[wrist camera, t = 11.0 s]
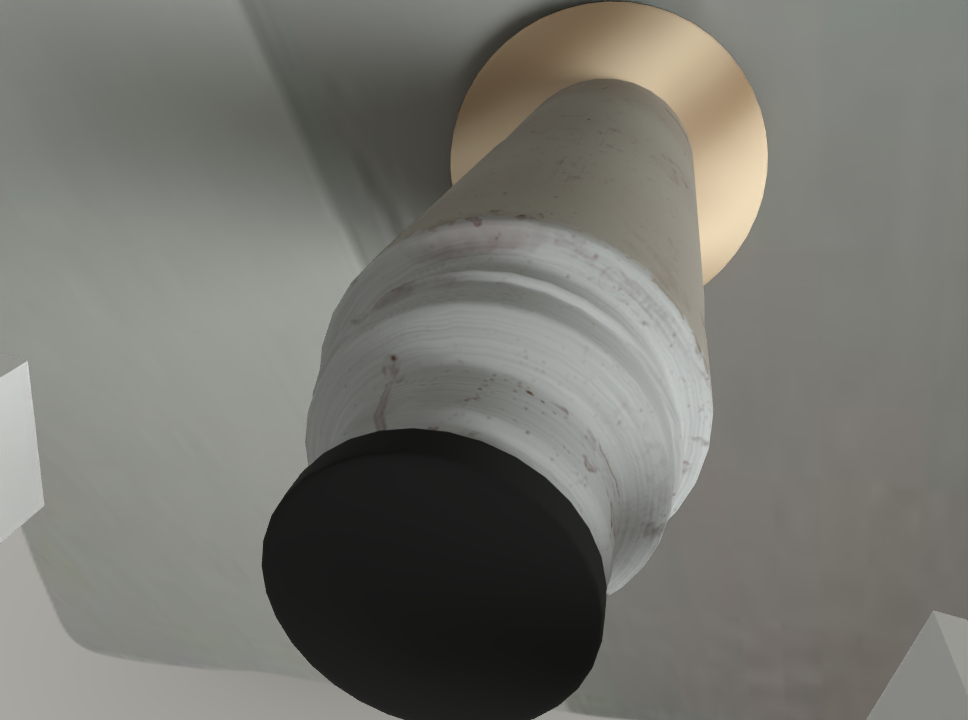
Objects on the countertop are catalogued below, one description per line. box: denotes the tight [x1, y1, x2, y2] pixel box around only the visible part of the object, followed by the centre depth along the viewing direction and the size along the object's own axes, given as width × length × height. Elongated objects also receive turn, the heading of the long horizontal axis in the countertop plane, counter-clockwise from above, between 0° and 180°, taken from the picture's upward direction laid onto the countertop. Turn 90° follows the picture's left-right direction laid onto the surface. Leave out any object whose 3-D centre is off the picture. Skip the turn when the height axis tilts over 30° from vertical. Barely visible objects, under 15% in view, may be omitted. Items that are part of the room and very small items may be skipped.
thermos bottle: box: [262, 79, 713, 720], centre depth 23 cm, size 8×8×28 cm
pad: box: [451, 1, 768, 285], centre depth 36 cm, size 14×14×1 cm
